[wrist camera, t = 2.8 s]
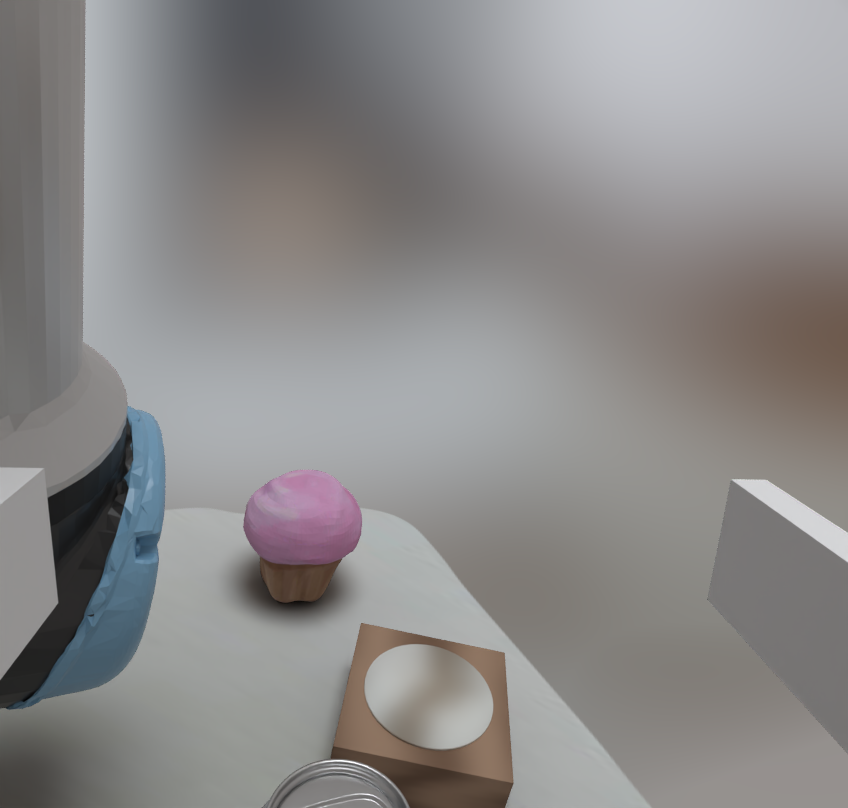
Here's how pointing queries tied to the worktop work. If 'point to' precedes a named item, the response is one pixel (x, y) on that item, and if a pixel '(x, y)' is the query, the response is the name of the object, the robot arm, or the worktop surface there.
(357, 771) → the soda can
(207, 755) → the worktop surface
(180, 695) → the worktop surface
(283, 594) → the cupcake
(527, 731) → the worktop surface
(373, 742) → the plinth
